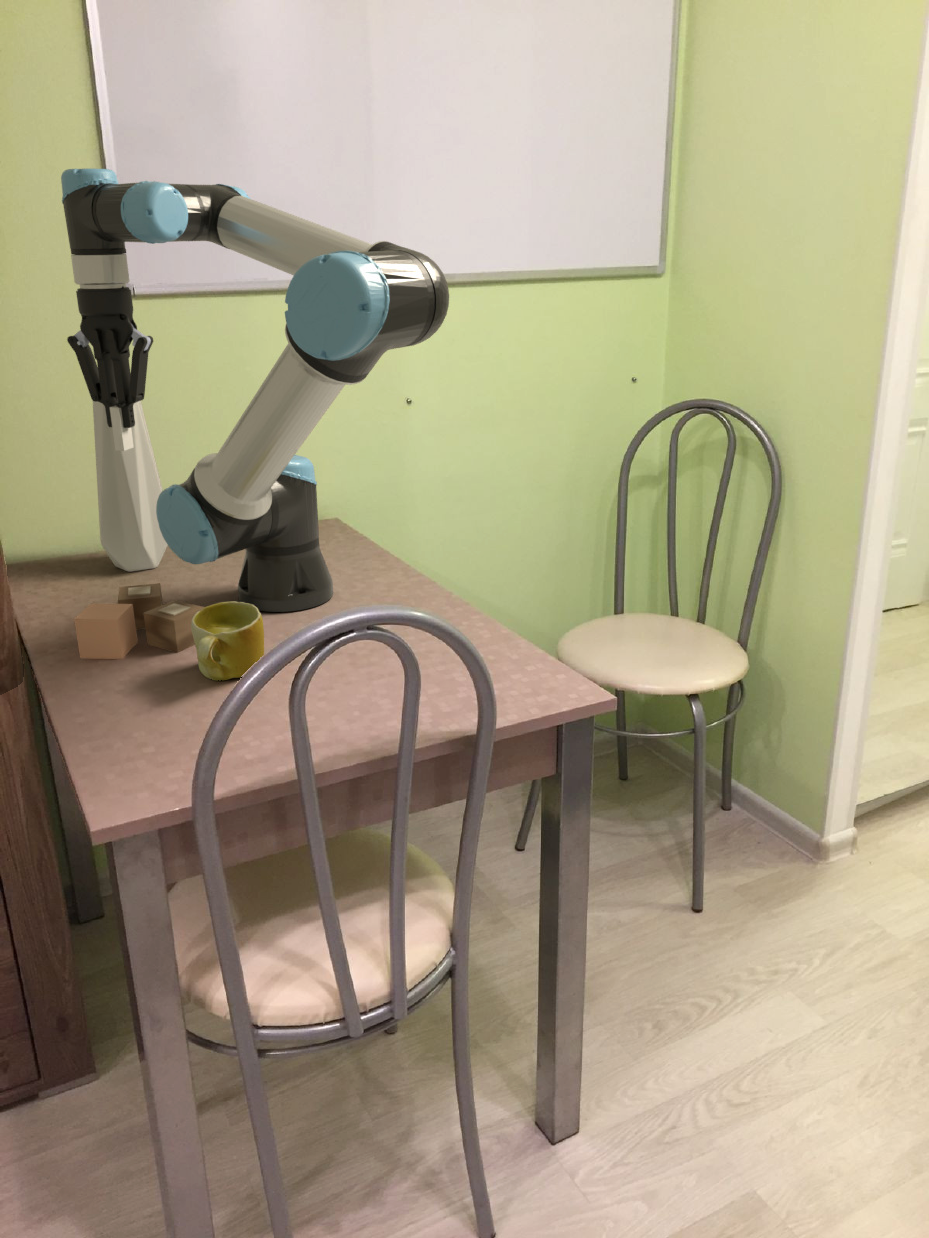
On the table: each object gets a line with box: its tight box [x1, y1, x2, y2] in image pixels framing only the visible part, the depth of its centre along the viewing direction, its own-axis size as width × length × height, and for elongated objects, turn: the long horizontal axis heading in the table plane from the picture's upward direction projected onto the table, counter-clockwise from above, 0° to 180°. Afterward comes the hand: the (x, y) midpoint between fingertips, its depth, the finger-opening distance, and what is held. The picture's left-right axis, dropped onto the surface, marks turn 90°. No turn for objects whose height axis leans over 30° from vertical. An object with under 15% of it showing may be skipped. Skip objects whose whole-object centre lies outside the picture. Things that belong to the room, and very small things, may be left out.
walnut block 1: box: [117, 582, 164, 630], centre depth 153 cm, size 6×6×5 cm
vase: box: [92, 400, 169, 573], centre depth 174 cm, size 12×12×33 cm
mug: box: [191, 600, 265, 682], centre depth 135 cm, size 12×10×10 cm
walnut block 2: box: [143, 599, 206, 653], centre depth 145 cm, size 6×6×5 cm
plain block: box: [73, 603, 139, 660], centre depth 143 cm, size 6×6×6 cm
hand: (124, 448), depth 154 cm, fingers closed
